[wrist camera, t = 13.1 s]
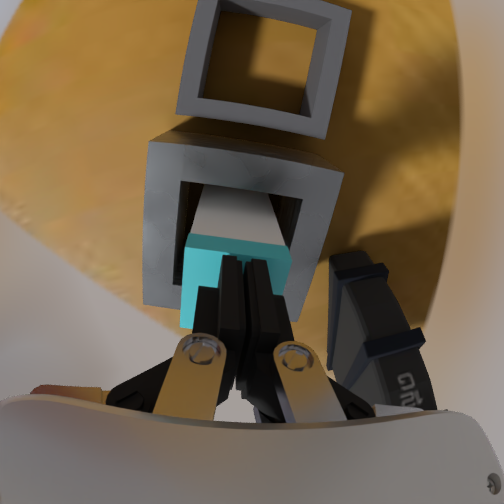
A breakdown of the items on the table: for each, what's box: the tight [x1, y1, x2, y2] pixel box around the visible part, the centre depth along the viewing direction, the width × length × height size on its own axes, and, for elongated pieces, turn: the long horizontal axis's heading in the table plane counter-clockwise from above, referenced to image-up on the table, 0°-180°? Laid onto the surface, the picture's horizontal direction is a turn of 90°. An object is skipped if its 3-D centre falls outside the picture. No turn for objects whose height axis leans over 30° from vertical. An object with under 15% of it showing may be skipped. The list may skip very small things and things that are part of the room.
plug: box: [180, 184, 292, 329], centre depth 16 cm, size 4×4×9 cm
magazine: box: [327, 251, 448, 411], centre depth 20 cm, size 4×13×15 cm, turn 8°
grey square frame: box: [176, 0, 352, 140], centre depth 14 cm, size 8×8×3 cm
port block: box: [143, 130, 344, 322], centre depth 18 cm, size 10×10×5 cm
